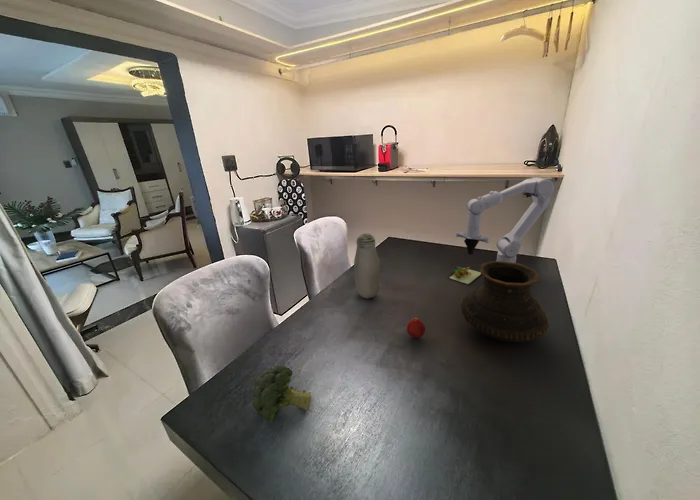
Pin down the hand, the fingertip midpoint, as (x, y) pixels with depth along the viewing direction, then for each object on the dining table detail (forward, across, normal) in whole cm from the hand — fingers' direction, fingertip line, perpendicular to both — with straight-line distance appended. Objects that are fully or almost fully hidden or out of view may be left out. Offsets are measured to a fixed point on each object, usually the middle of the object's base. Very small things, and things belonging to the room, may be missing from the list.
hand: (470, 253), depth 124 cm
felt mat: (+9, +1, -5) cm, 11 cm away
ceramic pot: (+10, +27, -35) cm, 45 cm away
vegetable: (+10, 0, -100) cm, 100 cm away
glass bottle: (+10, -21, -48) cm, 53 cm away
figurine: (+8, -5, -5) cm, 10 cm away
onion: (+10, +9, -56) cm, 58 cm away
